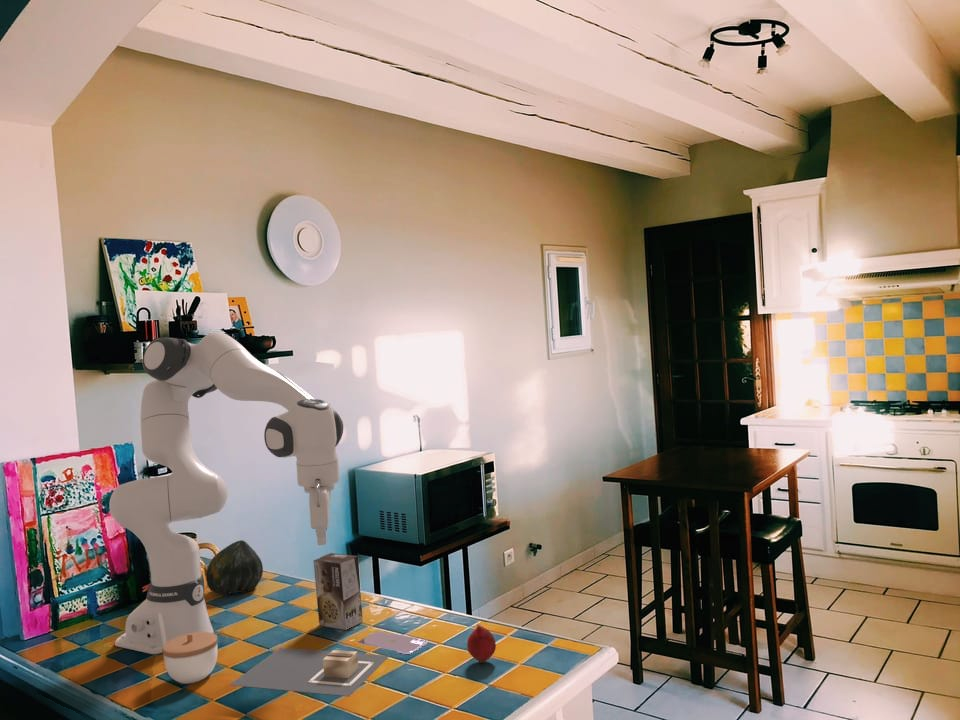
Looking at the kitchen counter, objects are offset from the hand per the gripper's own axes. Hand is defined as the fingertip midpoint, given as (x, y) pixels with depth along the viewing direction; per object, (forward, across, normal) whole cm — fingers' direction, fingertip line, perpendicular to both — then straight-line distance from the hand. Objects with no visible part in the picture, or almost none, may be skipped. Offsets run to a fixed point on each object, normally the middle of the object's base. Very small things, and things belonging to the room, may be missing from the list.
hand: (322, 537), depth 163 cm
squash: (+29, +52, +27) cm, 65 cm away
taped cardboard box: (+25, -13, -2) cm, 28 cm away
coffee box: (+27, +16, -2) cm, 31 cm away
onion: (+25, -17, -31) cm, 43 cm away
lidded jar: (+26, -4, +28) cm, 38 cm away
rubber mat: (+25, -9, +4) cm, 27 cm away
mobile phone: (+26, 0, -14) cm, 29 cm away
